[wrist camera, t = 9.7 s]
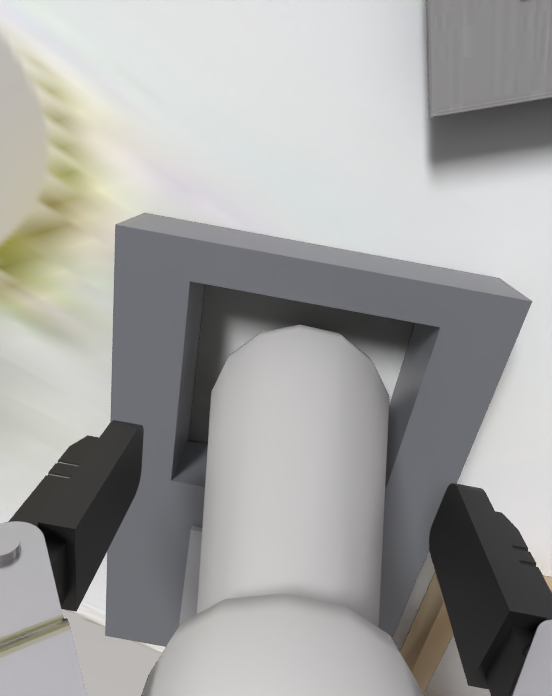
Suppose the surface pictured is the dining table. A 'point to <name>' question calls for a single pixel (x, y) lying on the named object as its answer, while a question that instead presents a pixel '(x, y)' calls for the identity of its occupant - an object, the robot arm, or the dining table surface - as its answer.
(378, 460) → the salt shaker
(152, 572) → the grey rectangular frame
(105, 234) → the dining table surface
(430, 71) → the electrical outlet
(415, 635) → the wooden square frame
